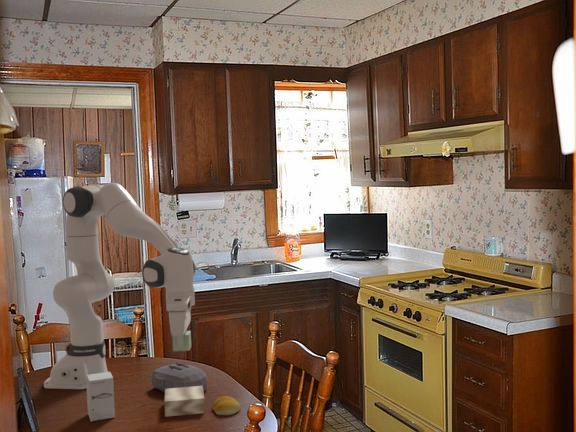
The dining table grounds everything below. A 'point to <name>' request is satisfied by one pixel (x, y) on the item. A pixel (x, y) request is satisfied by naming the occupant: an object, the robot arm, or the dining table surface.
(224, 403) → the bread roll
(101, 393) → the supplement box
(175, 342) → the sage cube
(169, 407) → the wooden block
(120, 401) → the dining table surface
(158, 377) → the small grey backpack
